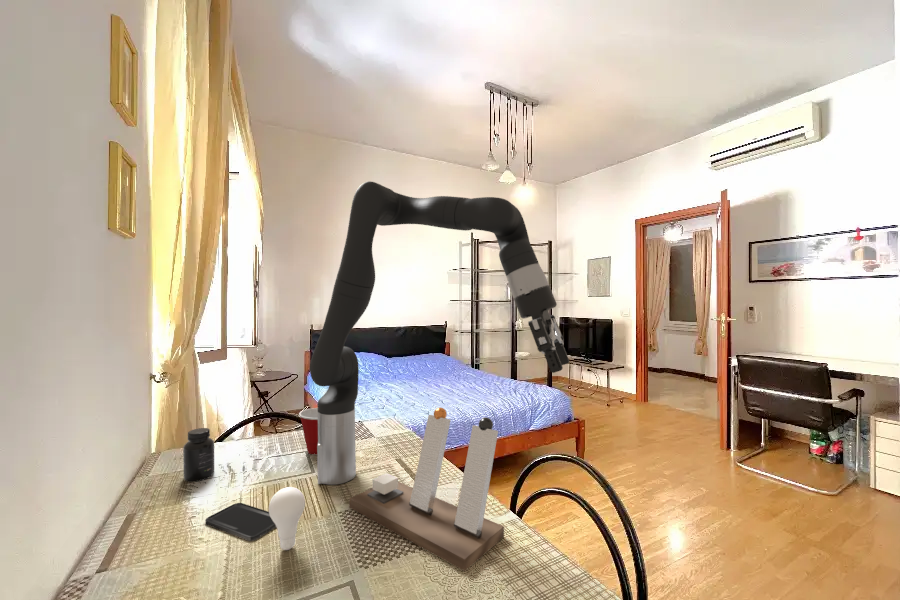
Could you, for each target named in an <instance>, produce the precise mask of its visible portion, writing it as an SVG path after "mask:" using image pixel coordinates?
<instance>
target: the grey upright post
mask: <svg viewBox="0 0 900 600" xmlns="http://www.w3.org/2000/svg"><path fill="white" fill-rule="evenodd" d="M493 428H494V422H493V420H492V419H491V418H489V417H488V416H487V417H482V418H481V419H480V420H479V422H478V425H474V424H473V425H472V427H471V432H470V433H471V434H470V437H469V438H470V439H469V443H468V449H467V455H466V458H465V459H466V460H465V466H464V471H463V475H462V476H463V477H462V482H461V487H460V493H459V497H458V502H457V504H458V505H457V507H458V508H457V513H456V519H455V522H454V527H456V528H458V529H460V530H462V531H465V532H467V533H469V534H471V535H473V536H475V537H477V538H480V537H481V535H482V525H483V519H484V518H485V511H486V506H487V501H488V500H487V499H488V495H489V489H490V482H491V475H492V470H493V463H494V457H495V452H496V445H497V442H498V441H497V439H498V433H499V430H495V429H493Z"/></svg>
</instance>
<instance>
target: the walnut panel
mask: <svg viewBox="0 0 900 600" xmlns="http://www.w3.org/2000/svg"><path fill="white" fill-rule="evenodd" d="M412 490H413V487H412V486H410V485H407V484H405V483H402V482H401V481H398V488H397V489H395V490H393V491H391V492H390V493H388V494H385V495H384V494H382V493H380V492H378V491H375V490H373V487H370V488H368V489H367V490H364V491H362V492H360V493H358V494H356V495H353V496H351V497H349V499H348V500H349V502H348V503H349V505H348V508H350V509H351V510H353V511H355V512H357V513H359V514H360V515H362V516H363V517H366V518H367V519H369V520H371V521H373V522H375V523H377V524H379V525H380V526H382V527H384V528H386V529H387V530H389V531H391V532H393V533H395V534H397V535H398V536H400V537H402V538H404V539H406V540H408V541H409V542H410V543H413V544H414V545H416V546H418V547H420V548H421V549H423V550H425V551H426V552H429V553H431V554H433V555H435V556H436V557H438V558H440V559H442V560H444V561H445V562H447V563H449V564H450V565H453V566H454V567H456V568H458V569H460V570H461V571H463V572H466V571H467V570H469V568H471V567H472V566H473V565H474V564H475V563H476V562H477V561H479V560H480V559H481V558H482V557H483V556H485V554H487V553H488V552H489V551H490V550H491V549H492V548H493V547H494V546H495V545H497V544H498V543H499V542H500V541H501V540H502V539H503V538H504V537H505V526H504V525H501V524H499V523H497V522H494V521H492V520H490V519H488V518H485V517H484V519H483V525H482V535H481V537H480V538H477V537H475V536H473V535H471V534H469V533H467V532H465V531H462V530H460V529H458V528H456V527H454V522H455V519H456V513H457V508H458V505H457V506H456V505H454V504H452V503H449V502H447V501H445V500H442V499H440V498H437V497H436V496H435V501H434V506H433V513H432V515H428V514H426V513H424V512H422V511H420V510H417V509H415V508H413V507H411V506H409V502H410V499H411V495H412Z"/></svg>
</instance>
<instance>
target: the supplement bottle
mask: <svg viewBox="0 0 900 600" xmlns="http://www.w3.org/2000/svg"><path fill="white" fill-rule="evenodd" d="M182 448H183V449H182V453H183V454H182V455H183V456H182V457H183V458H182V459H183V461H182V462H183V463H182V464H183V468H182V469H183V480H185V481H186V482H190V483H193V481H195V482H199V480H200V481H203V479H204V480H206V479H209V478H210V477H212V476H213V475H214V473H215V441H214V440H213V438H211V433H210V428H208V427H200V428H199V427H198V428H194V429H191V430H189V431H187V442H186V443H185V444H184V445H183V447H182ZM208 477H209V478H208Z"/></svg>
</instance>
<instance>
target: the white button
mask: <svg viewBox="0 0 900 600" xmlns="http://www.w3.org/2000/svg"><path fill="white" fill-rule="evenodd" d="M371 482H372V484H371V486H372V487H373V490H375V491H378V492H380V493H382V494H384V495H385V494H388V493H390V492H391V491H393V490H395V489H397V488H398V482H399V477H397V476H395V475H392V474H390V473H387V472H385V473H384V474H383V473H382V474H380V475H378V476H377V477H375V478H374V477H373V478H372V480H371ZM372 487H371V488H372Z"/></svg>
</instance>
